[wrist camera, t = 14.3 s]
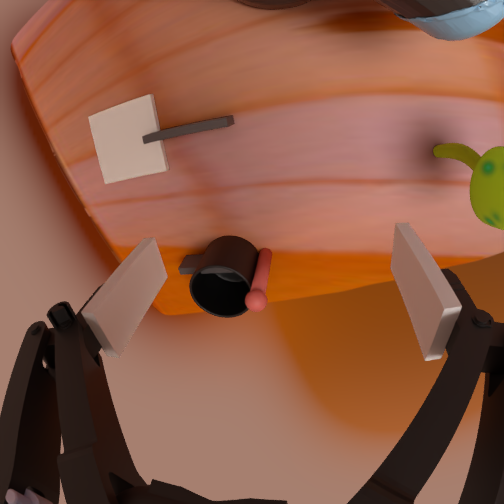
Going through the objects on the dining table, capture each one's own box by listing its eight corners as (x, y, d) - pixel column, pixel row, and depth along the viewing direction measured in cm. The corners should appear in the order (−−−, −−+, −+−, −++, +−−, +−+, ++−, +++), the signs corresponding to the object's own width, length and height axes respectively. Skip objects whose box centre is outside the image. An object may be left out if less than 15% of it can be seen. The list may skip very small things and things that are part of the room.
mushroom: (404, 160, 36) (506, 247, 14) (429, 112, 31) (556, 154, 10) (444, 188, 36) (543, 286, 15) (468, 144, 32) (586, 211, 11)
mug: (223, 297, 53) (210, 332, 46) (197, 241, 48) (178, 272, 40) (272, 289, 51) (267, 325, 43) (251, 228, 45) (240, 259, 38)
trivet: (91, 116, 38) (88, 116, 37) (153, 93, 36) (150, 94, 35) (108, 182, 44) (105, 184, 43) (169, 169, 42) (166, 171, 41)
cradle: (154, 131, 39) (104, 150, 28) (253, 112, 36) (234, 120, 25) (189, 265, 50) (161, 315, 39) (275, 260, 47) (267, 316, 36)
